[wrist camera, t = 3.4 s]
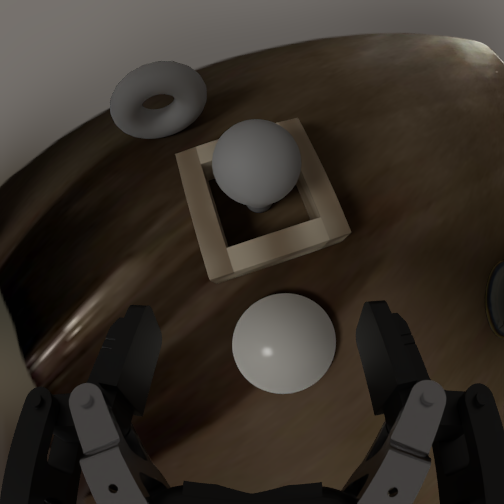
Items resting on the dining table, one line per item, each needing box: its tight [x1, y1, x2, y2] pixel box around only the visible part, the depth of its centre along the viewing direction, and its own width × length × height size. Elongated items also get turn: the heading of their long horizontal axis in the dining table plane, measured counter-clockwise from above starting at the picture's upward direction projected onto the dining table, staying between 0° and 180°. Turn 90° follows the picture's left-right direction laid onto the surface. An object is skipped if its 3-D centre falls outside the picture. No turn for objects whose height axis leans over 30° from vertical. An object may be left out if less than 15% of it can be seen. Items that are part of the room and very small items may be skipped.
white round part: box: [232, 293, 336, 394], centre depth 23 cm, size 9×9×1 cm
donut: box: [110, 61, 207, 139], centre depth 24 cm, size 10×4×10 cm, turn 107°
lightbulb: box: [212, 119, 301, 213], centre depth 21 cm, size 6×6×11 cm
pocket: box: [175, 118, 351, 284], centre depth 25 cm, size 12×12×4 cm
